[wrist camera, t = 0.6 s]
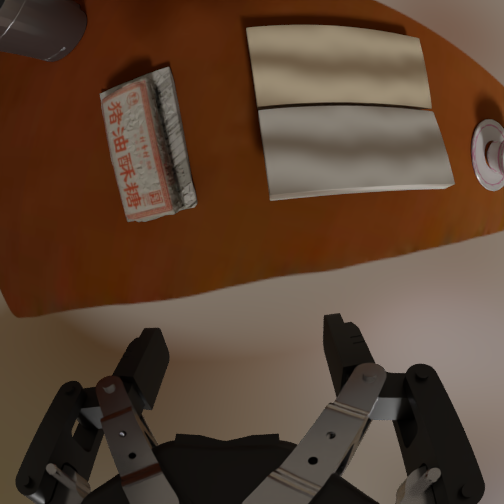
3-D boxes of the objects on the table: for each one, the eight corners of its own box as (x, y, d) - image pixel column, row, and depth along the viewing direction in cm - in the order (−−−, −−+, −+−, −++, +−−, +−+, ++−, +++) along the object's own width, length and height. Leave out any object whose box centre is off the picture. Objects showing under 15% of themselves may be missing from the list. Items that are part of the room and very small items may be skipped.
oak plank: (246, 35, 25) (246, 27, 23) (409, 43, 24) (418, 38, 22) (257, 109, 29) (257, 106, 27) (421, 109, 28) (431, 108, 26)
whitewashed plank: (259, 120, 29) (258, 110, 27) (424, 119, 28) (432, 111, 26) (270, 200, 29) (270, 195, 26) (444, 188, 28) (454, 183, 25)
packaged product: (193, 214, 30) (115, 231, 30) (200, 204, 34) (131, 220, 35) (161, 58, 23) (84, 89, 24) (173, 68, 27) (103, 94, 28)
